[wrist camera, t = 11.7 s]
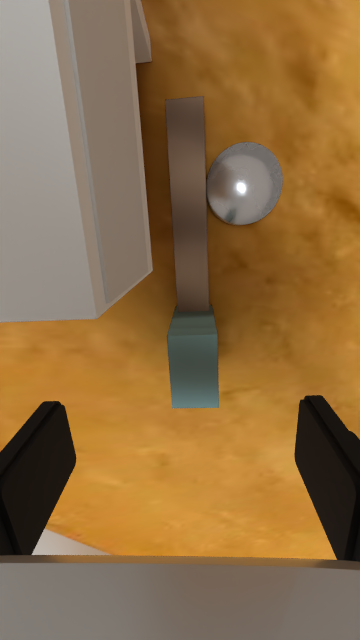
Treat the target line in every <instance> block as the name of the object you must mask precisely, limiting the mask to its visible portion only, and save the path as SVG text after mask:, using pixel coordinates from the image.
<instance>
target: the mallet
mask: <svg viewBox="0 0 360 640" xmlns="http://www.w3.org/2000/svg"><path fill="white" fill-rule="evenodd" d="M165 107H166V123H167V140H168V156H169V173H170V189H171V206H172V223H173V239H174V256H175V272H176V289H177V306H176V307H175V311H174V314H173V317H172V321H171V324H170V328H169V331H168V334H167V343H168V357H169V370H170V383H171V397H172V408H219V385H218V334H217V329H216V323H215V318H214V313H213V308H212V305H209V289H208V250H207V210H206V171H205V131H204V96H200V97H189V98H178V99H168V100H165Z"/></svg>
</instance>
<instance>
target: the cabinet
mask: <svg viewBox="0 0 360 640" xmlns="http://www.w3.org/2000/svg"><path fill="white" fill-rule="evenodd" d="M144 62H152V58H151V43H150V36H149V32H148V28H147V24H146V20H145V16H144V12H143V8H142V3H141V0H0V322H23V321H51V320H79V319H97V318H98V317H100V316H101V315H102V314H103V313H104V312H105V311H107V310H108V309H109V308H110V307H111V306H112V305H114V304H115V303H116V302H117V301H118V300H119V299H121V298H122V297H123V296H124V295H125V294H126V293H128V292H129V291H130V290H131V289H132V288H133V287H135V286H136V285H137V284H138V283H139V282H140V281H142V280H143V279H144V278H145V277H146V276H147V275H148V274H150V273H151V272H152V271H153V267H152V255H151V243H150V231H149V219H148V207H147V196H146V184H145V172H144V160H143V148H142V136H141V124H140V112H139V101H138V89H137V77H136V65H135V63H144Z"/></svg>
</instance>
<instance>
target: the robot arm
mask: <svg viewBox="0 0 360 640" xmlns="http://www.w3.org/2000/svg"><path fill="white" fill-rule="evenodd" d="M295 462H296V465H297V468H298V470H299V472H300V474H301V477H302V479H303V481H304V484H305V486H306V488H307V491H308V493H309V495H310V498H311V500H312V502H313V505H314V507H315V509H316V512H317V514H318V516H319V519H320V521H321V523H322V526H323V528H324V530H325V533H326V535H327V537H328V540H329V542H330V544H331V547H332V549H333V551H334V554H335V556H336V558H337V560H324V559H298V558H255V557H198V556H116V555H32V553H33V550H34V549H35V546H36V545H37V542H38V540H39V538H40V536H41V534H42V532H43V530H44V528H45V526H46V524H47V522H48V520H49V518H50V516H51V514H52V512H53V510H54V508H55V506H56V504H57V502H58V500H59V497H60V495H61V493H62V491H63V489H64V487H65V485H66V483H67V481H68V479H69V477H70V475H71V473H72V471H73V469H74V467H75V464H76V454H75V449H74V445H73V441H72V436H71V432H70V427H69V423H68V419H67V414H66V410H65V406H64V405H61V403H60V402H59V401H45V402H43V403H42V404H41V405H40V406H39V407H38V408H37V410H36V411H35V412H34V413H33V414H32V416H31V417H30V418H29V419H28V420H27V421H26V423H25V424H24V425H23V426H22V427H21V429H20V430H19V431H18V432H17V433H16V434H15V436H14V437H13V438H12V439H11V440H10V442H9V443H8V444H7V445H6V446H5V447H4V449H3V450H2V451H1V452H0V640H360V440H359V438H358V437H357V436H356V435H355V434H354V433H353V432H351V431H349V430H348V429H347V428H346V426H345V425H344V424H343V422H342V421H341V420H340V418H339V417H338V416H337V414H336V413H335V412H334V410H333V409H332V408H331V407H330V405H329V404H328V403H327V401H326V400H325V399H324V397H323V396H321V395H312V396H305V398H304V400H300V403H299V413H298V424H297V434H296V444H295Z"/></svg>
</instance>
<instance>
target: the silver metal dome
mask: <svg viewBox="0 0 360 640" xmlns="http://www.w3.org/2000/svg"><path fill="white" fill-rule="evenodd" d="M282 182H283V178H282V170H281V167H280V164H279V162H278V160H277V158H276V157H275V155H274V154H273V153H272V152H271V151H270V150H269V149H267V148H266V147H264V146H262V145H260V144H257V143H252V142H243V143H238V144H235V145H232V146H230V147H229V148H227V149H226V150H224V151H223V152H222V153H221V154H220V155H219V156H218V157H217V158H216V159H215V161H214V162H213V164H212V166H211V168H210V171H209V174H208V178H207V184H206V197H207V201H208V204H209V207H210V209H211V210H212V212H213V213H214V214H215V215H216V217H218V218H219V219H220V220H222V221H223V222H225V223H228V224H231V225H245V224H250V223H254V222H256V221H258V220H260V219H262V218H263V217H265V216H266V215H267V214H268V213H269V212H270V211H271V210H272V209H273V208H274V206H275V205H276V203H277V201H278V199H279V197H280V194H281V190H282Z"/></svg>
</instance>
